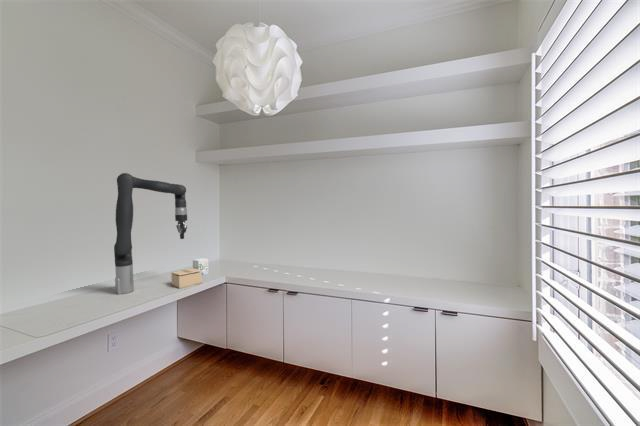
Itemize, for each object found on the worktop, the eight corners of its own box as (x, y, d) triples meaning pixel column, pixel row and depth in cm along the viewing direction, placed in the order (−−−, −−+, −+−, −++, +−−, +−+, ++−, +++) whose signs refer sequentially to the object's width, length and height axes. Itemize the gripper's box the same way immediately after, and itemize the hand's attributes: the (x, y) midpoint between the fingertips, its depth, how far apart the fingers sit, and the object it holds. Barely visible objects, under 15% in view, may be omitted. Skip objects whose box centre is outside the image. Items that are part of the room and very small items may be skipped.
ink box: (198, 275, 223) (198, 260, 222) (192, 274, 228) (192, 259, 228) (208, 273, 230) (208, 258, 229) (202, 271, 235) (202, 257, 234)
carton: (179, 288, 192) (179, 276, 191) (172, 284, 200) (171, 273, 200) (202, 283, 202) (201, 272, 202) (193, 280, 211) (193, 269, 211)
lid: (179, 275, 191) (179, 274, 191) (171, 273, 200) (171, 272, 200) (201, 271, 202) (201, 270, 202) (193, 269, 211) (193, 268, 211)
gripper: (171, 214, 204) (172, 238, 205) (179, 214, 195) (180, 240, 196) (182, 213, 210) (183, 237, 210) (190, 213, 200) (191, 239, 201)
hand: (182, 238), depth 203 cm, fingers closed
